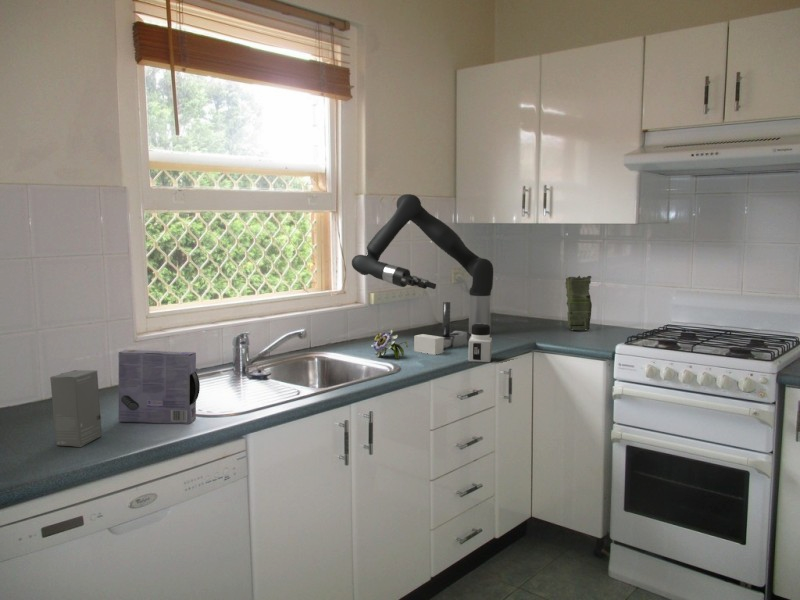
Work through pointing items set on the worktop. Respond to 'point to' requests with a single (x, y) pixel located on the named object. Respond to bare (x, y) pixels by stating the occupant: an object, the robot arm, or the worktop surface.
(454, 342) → the sleeve
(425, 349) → the socket block
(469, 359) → the container
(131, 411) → the cake pan box
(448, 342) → the tube
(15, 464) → the worktop surface
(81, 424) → the skincare box
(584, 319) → the pouch
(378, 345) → the passion flower
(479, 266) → the robot arm
